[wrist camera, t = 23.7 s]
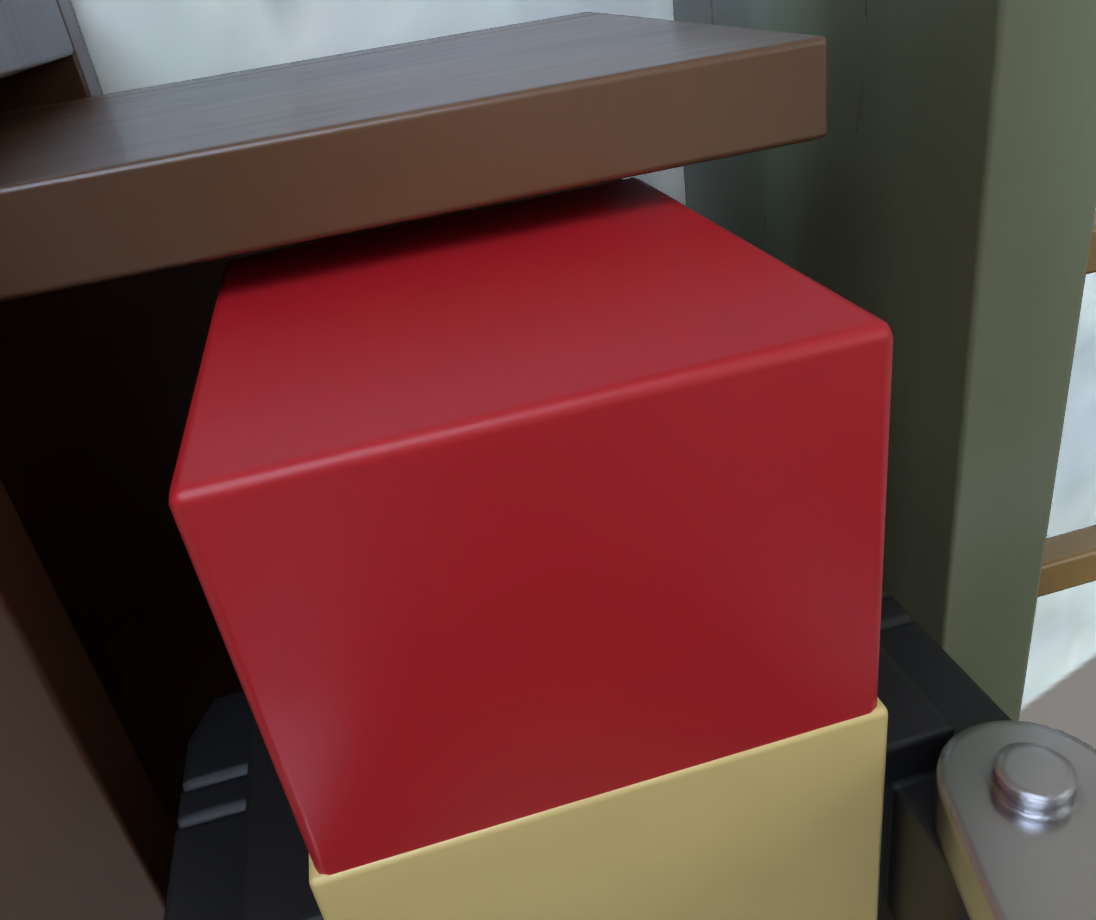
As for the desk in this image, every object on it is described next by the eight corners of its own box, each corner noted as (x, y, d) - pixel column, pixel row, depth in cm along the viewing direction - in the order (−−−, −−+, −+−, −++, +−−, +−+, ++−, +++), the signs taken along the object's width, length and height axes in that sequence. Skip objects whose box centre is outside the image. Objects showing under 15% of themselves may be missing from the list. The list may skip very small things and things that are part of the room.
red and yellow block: (419, 889, 13) (476, 1292, 9) (216, 258, 8) (148, 503, 4) (698, 804, 13) (867, 1147, 9) (643, 173, 9) (912, 323, 5)
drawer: (1088, -130, 14) (1726, -219, 8) (1003, 547, 21) (1324, 803, 14) (-347, 101, 12) (-1157, 253, 5) (60, 809, 18) (-72, 1280, 11)
